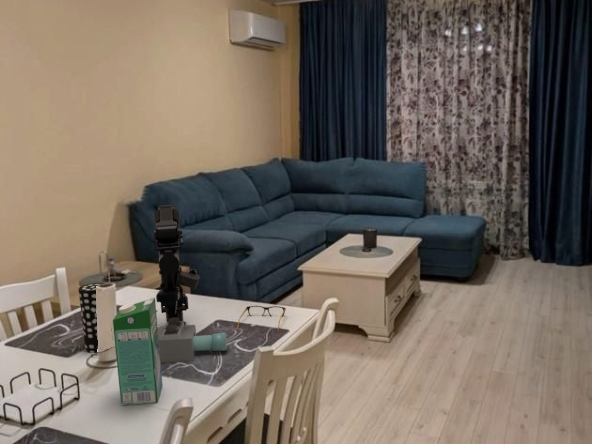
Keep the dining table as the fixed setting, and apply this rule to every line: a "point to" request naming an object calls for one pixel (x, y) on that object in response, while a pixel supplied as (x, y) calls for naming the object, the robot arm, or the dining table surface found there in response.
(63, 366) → the dining table surface
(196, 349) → the cartridge
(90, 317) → the spotted tube
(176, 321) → the plunger
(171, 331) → the plunger
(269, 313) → the eyeglasses
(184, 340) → the housing
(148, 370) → the milk carton
